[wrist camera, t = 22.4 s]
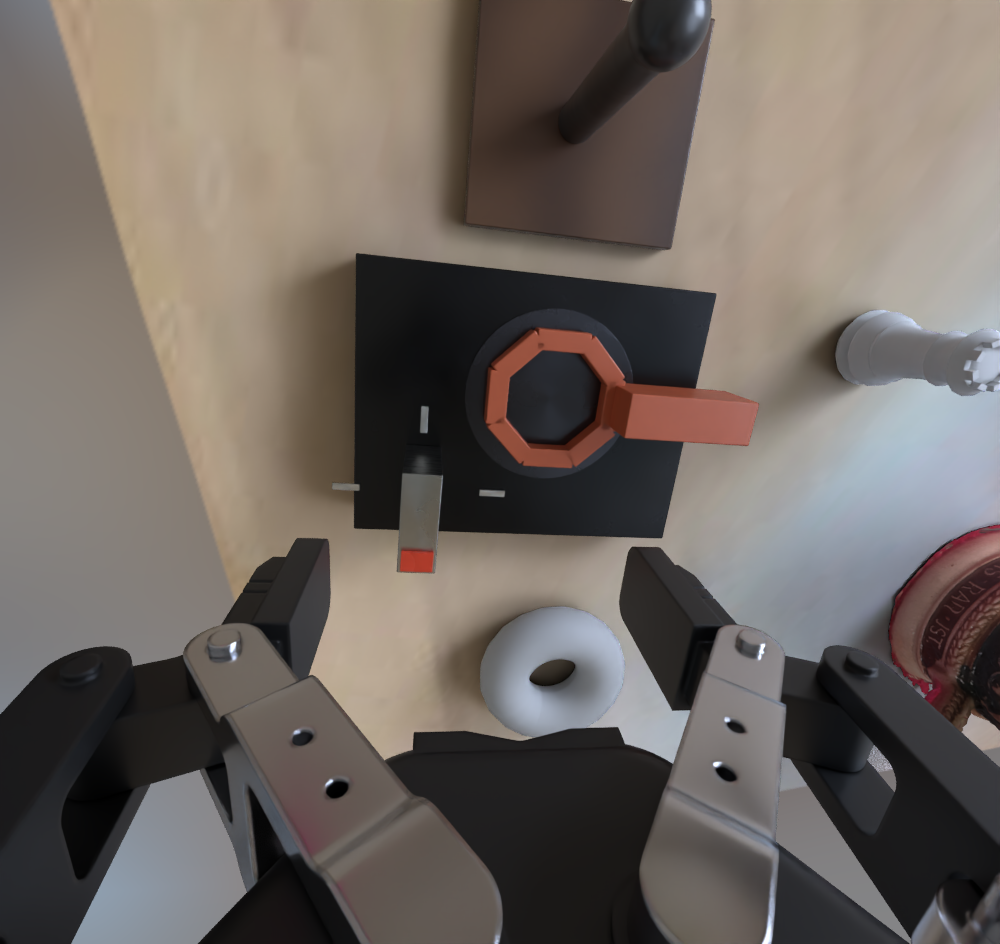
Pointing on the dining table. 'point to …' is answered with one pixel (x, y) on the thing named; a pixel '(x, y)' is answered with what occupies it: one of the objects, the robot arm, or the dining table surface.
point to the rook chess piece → (917, 354)
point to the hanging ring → (614, 405)
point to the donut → (541, 642)
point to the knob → (420, 509)
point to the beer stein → (954, 628)
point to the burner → (543, 390)
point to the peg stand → (585, 117)
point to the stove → (442, 383)
